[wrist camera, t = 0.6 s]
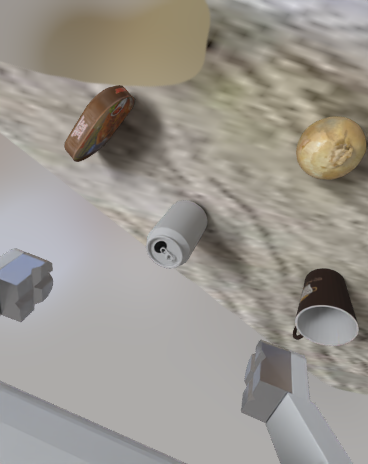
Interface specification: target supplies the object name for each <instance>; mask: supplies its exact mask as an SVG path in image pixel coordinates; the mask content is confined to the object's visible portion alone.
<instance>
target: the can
mask: <svg viewBox="0 0 368 464" xmlns="http://www.w3.org/2000/svg"><path fill="white" fill-rule="evenodd" d="M206 227H207V216H206V214H205V212H204V210H203V209H202V208H201V207H200V206H199V205H197V204H196V203H194V202H191V201H186V200H182V201H178V202H176V203H175V204H173V205H172V206H171V208H170V209H169V210H168V211H167V212H166V214H165V215H164V216H163V217H162V218H161V220H160V221H159V222H158V223H157V224H156V226H155V227H154V228H153V229H152V230H151V231H150V233H149V235H148V236H147V246H146V249H147V253H148V255H149V257H150V258H151V259H152V260H153V262H155V263H156V264H157V265H159V266H161V267H164V268H169V269H171V268H176V267H178V266H179V265H182V264H184V263H186V261H187V260H188V259H189V257H190V255H191V254H192V252H193V250H194V248H195V247H196V245H197V243H198V241H199V240H200V238H201V236H202V234H203V233H204V231H205V229H206Z"/></svg>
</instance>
